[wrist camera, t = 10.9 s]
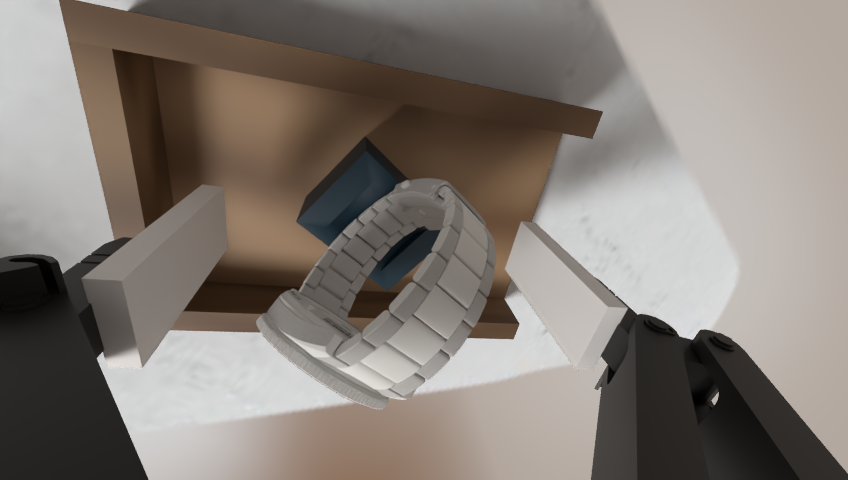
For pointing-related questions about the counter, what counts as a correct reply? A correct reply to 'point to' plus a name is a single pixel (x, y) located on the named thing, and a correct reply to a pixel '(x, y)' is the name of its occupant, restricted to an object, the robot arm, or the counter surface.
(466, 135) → the walnut track
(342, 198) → the watch
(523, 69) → the counter surface
